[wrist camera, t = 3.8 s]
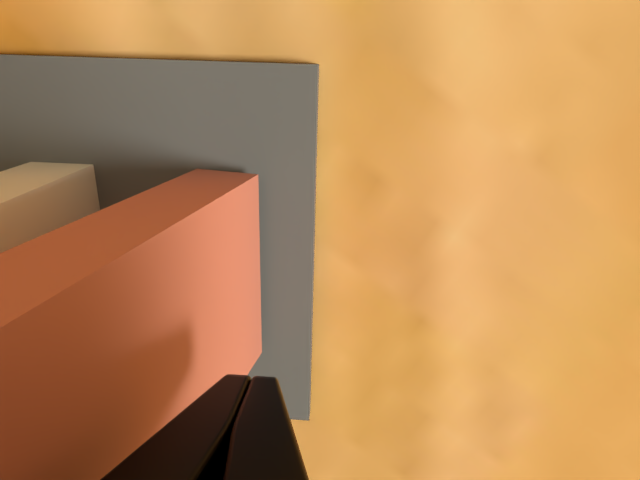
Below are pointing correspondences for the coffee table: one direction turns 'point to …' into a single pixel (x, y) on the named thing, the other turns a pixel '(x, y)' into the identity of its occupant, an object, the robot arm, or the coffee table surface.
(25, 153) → the mat
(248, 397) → the robot arm
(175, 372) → the domino
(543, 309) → the coffee table surface
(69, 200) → the domino
